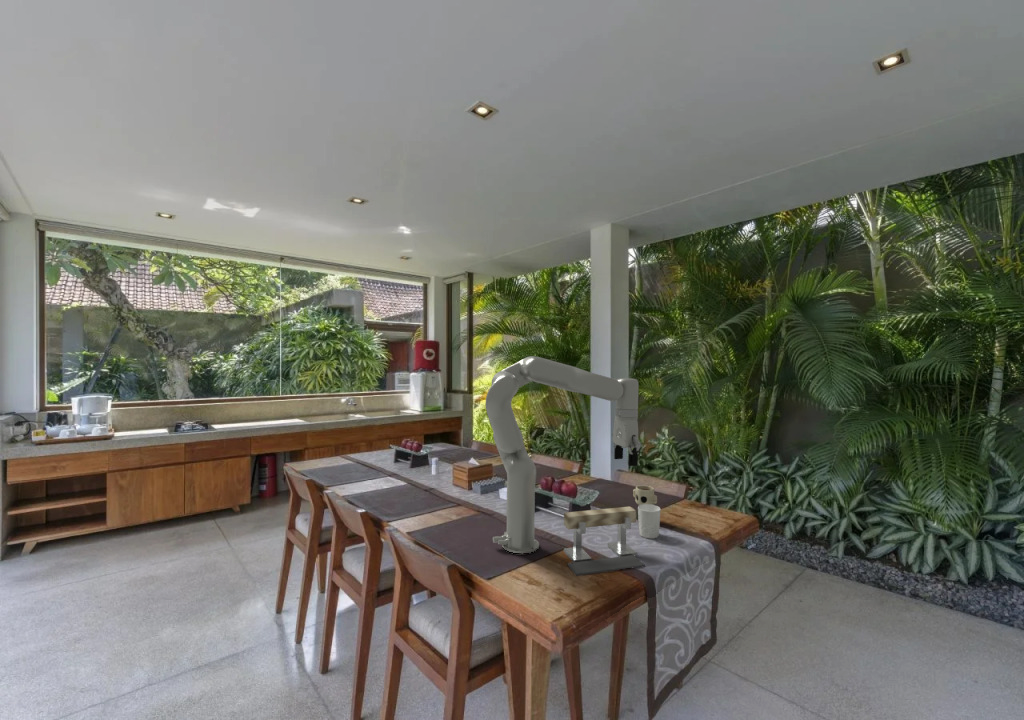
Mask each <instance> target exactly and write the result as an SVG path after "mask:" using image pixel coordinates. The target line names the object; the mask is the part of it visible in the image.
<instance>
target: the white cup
mask: <svg viewBox="0 0 1024 720" xmlns="http://www.w3.org/2000/svg"><path fill="white" fill-rule="evenodd" d="M637 509H638V520H637V521H638V528H639V529H638V534H639V536H641V537H642V538H646V539H656V538H658V537H659V535H660V523H661V507H660V506H658V505H655V504H653V505H651V504H642V505H639V506H637Z"/></svg>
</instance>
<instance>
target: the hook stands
mask: <svg viewBox="0 0 1024 720" xmlns="http://www.w3.org/2000/svg"><path fill="white" fill-rule="evenodd" d="M628 529H629V530H630V529H632V523H631V518H630V517H629V516H628V517H623V524H617V542H616V541H615V542H608V543H607V548H609V549H610V550H611V551H612V552H613V553H614V554H615V555H617V557H621V556H629V555H637V554H638V553H637V552H636V550H634V549H633V548H632V547H630V546H629V545H628V544H627V530H628ZM586 530H587V529H586V522H584V521H578V529H573V543H572V544H573V545H572V546H573V547H564V548H563V553H564V554H565V555H566V556H567V557H568V558H569V560H571V563H574V562H582V561H590V560H593V557H591V556H590V555H589V554H588V553H587V552H586V551H585V550H584V548H582V547H583V546H582V543H583V542H582V539H583V538H582V536H583V535H584V534H585V535H586V533H587V531H586Z"/></svg>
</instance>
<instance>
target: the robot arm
mask: <svg viewBox="0 0 1024 720" xmlns="http://www.w3.org/2000/svg"><path fill="white" fill-rule="evenodd" d="M530 382H535V383H537V384H541V385H545V386H549V387H553V388H557V389H560V390H565V391H568V392H573V393H578V394H583V395H585V396H590V397H594V398H599V399H602V400H605V401H607V402H608V401H609V402H615V416H614V420H613V421H614V423H613V430H612V431H613V432H612V442H613V448H614V452H613V459H615V460H623V459H624V448H627V449H628V451H629V453H628V461H627V463H628V466H629V467H637V466H638V465H639V464H638V461H639V460H638V459H639V457H638V456H639V454H640V453H639V452H640V450H641V447H642V444H641V443H642V442H640V440H639V425H638V423H639V421H638V418H639V415H638V413H639V381H638V379H636V378H629V377H620V378H613V377H608V376H605V375H602V374H599V373H598V374H597V373H594V372H590V371H587V370H584V369H581V368H579V367H577V366H572V365H569V364H565V363H562V362H558V361H555V360H552V359H551V360H550V359H547V358H543V357H539V356H533V355H532V356H526V357H525V358H523V359H521V360H519V361H517V362H515V363H514V364H512V365H510V366H508V367H506V368H503V369H502V370H500V371H498V372H496V373H495V374H494V375H493V377H492V379H491V386H490V388H489V390H488V391H487V393H486V397H485V411H486V415H487V417H488V420H489V423H490V426H491V428H492V431H493V434H492V435H493V441H494V444H495V446H496V449H497V452H498V453H499V454H498V455H499V456H500V460H501V462H502V464H503V466H504V469H505V471H506V476H507V477H506V478H507V482H506V531H504V533H503V534H502V535H500V536H498V535H497V536H492V542H493V544H494V543H495V544H496V543H497V545H501V546H502V547H503V548H504V549H505V550H507V551H509V552H513V553H522V554H521V555H524V554H523V553H529V554H532V553H531V552H533V553H535V552H537V551H538V550H539V547H540V542H539V541H538V540H537V539H535V534H536V533H535V530H536V529H535V528H536V527H535V521H536V520H535V519H536V517H535V516H536V515H535V514H536V513H535V509H536V506H535V503H536V501H535V500H536V497H535V496H536V495H535V491H536V479H537V467H536V465H535V463H534V460H533V459H532V458H531V456H530V455H529V453H528V452H527V450H526V446H525V444H524V437H523V436H524V435H523V433H522V431H521V429H520V426H519V424H518V422H517V420H516V416H515V413H514V410H513V408H512V400H513V398H514V396H515V395H516V394H517V392H518V391H519V388H522V387H523V386H525V385H527V384H528V383H530ZM503 548H502V549H503ZM504 549H503V550H504ZM537 549H538V550H537ZM505 550H504V551H505ZM536 550H537V551H536ZM507 551H506V552H507ZM534 551H535V552H534ZM509 552H508V553H509ZM513 553H512V554H513Z"/></svg>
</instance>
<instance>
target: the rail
mask: <svg viewBox="0 0 1024 720" xmlns="http://www.w3.org/2000/svg"><path fill="white" fill-rule="evenodd" d="M628 516H629V517H630V518H631V524H633V523H637V519H636V517H637V509H634V507H632V506H621V507H612V508H611V507H610V508H600V509H588V510H579V511H569V512H568V511H567V512H563V525H564V527H566V529H568V530H574V529H578V521H584V522H586V528H596V527H597V528H598V527H604V526H614V525H615V526H616V525H618V524H623V517H628Z"/></svg>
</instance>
